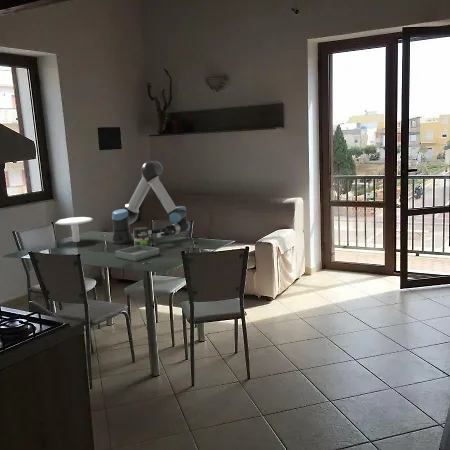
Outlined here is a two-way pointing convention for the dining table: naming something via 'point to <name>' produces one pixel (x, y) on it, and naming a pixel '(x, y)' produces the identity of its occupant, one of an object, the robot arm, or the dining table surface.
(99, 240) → the dining table surface
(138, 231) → the coffee can
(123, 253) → the tray
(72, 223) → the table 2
